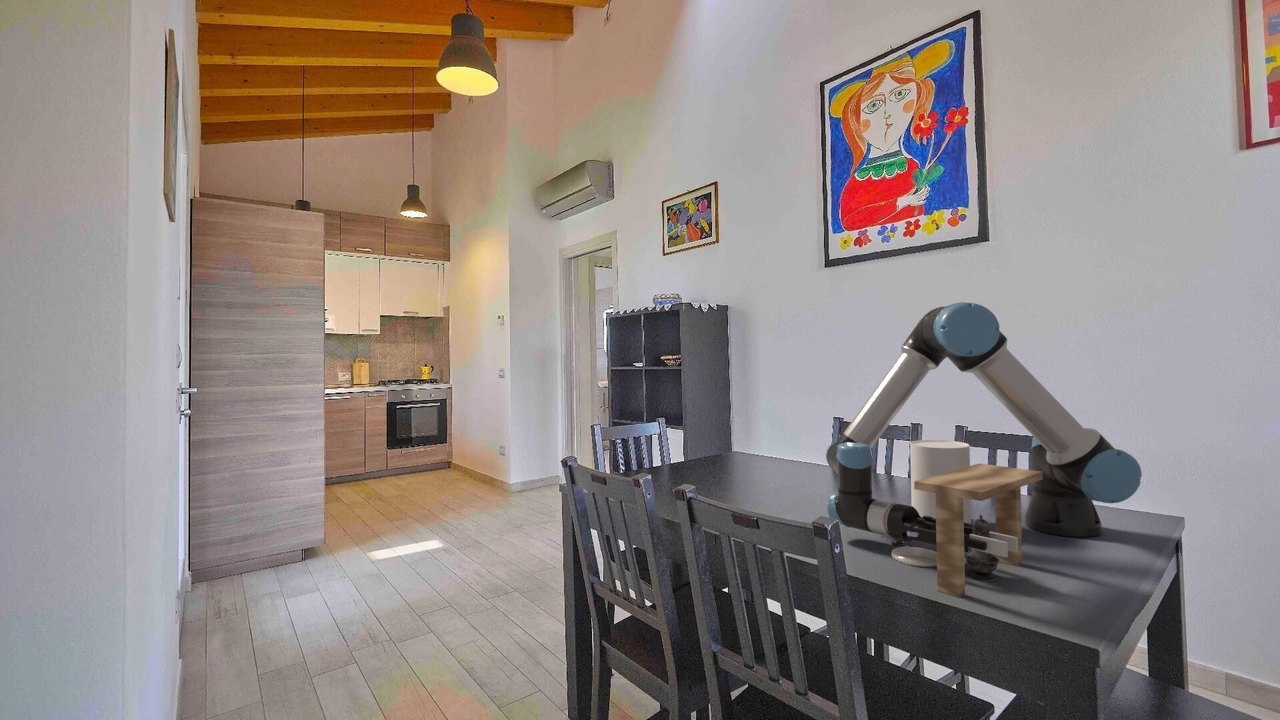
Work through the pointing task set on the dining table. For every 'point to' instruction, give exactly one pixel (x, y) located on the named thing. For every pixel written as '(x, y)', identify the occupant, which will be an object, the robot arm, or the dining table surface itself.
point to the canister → (936, 470)
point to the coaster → (915, 556)
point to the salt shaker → (981, 556)
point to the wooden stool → (950, 514)
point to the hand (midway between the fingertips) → (1011, 547)
